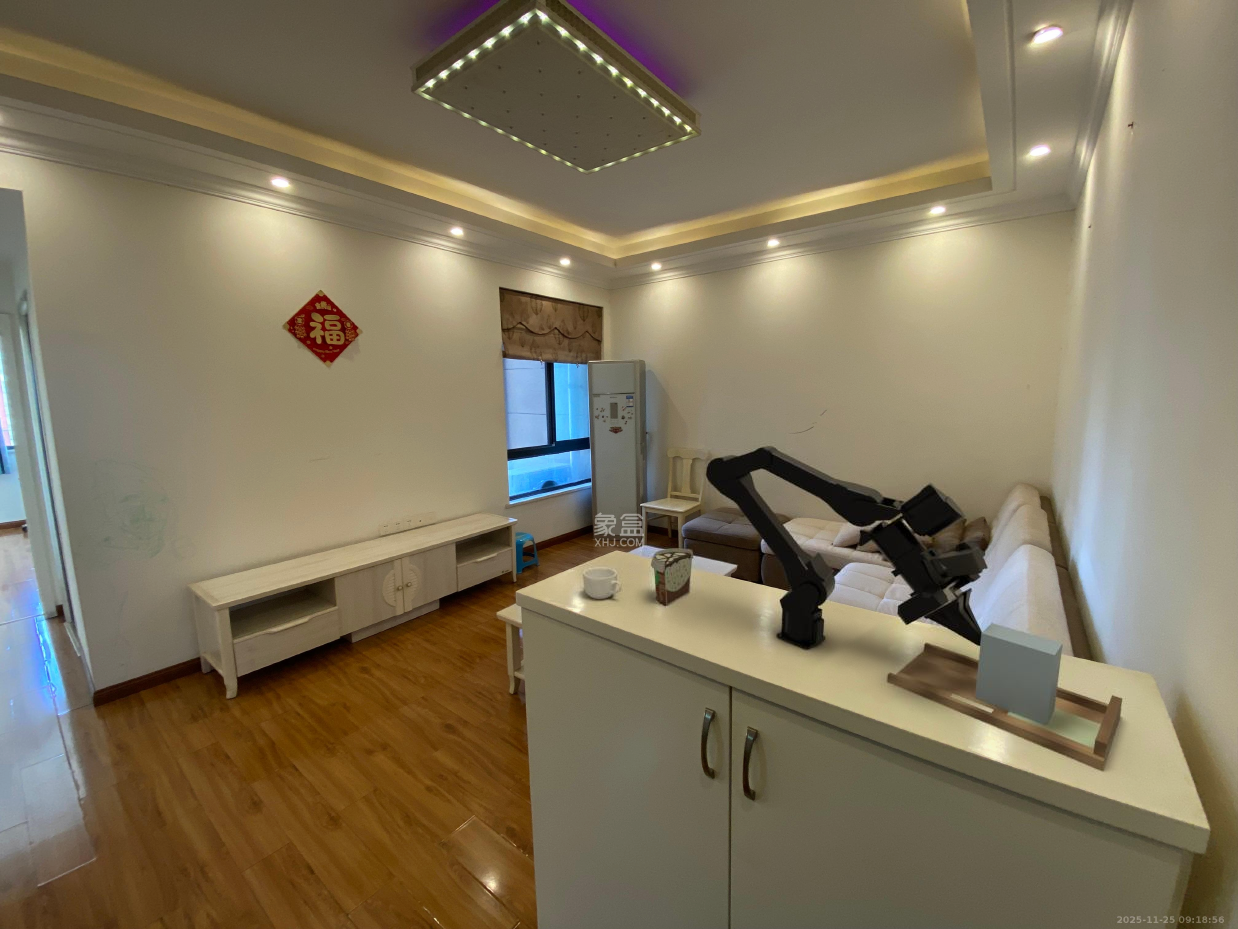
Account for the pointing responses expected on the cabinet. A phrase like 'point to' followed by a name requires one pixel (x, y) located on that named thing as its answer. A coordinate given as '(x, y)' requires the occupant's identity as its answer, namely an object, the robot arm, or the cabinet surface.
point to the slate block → (1018, 672)
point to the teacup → (600, 582)
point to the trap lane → (1070, 731)
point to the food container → (672, 574)
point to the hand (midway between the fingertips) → (983, 644)
